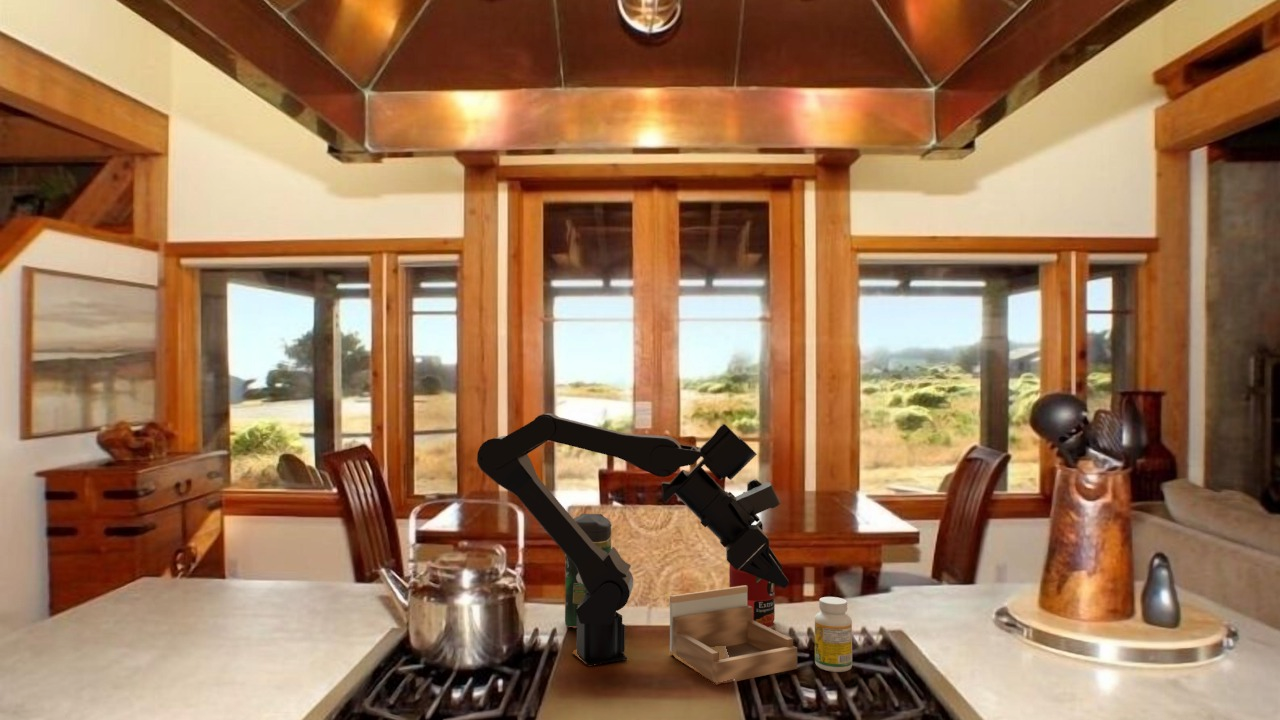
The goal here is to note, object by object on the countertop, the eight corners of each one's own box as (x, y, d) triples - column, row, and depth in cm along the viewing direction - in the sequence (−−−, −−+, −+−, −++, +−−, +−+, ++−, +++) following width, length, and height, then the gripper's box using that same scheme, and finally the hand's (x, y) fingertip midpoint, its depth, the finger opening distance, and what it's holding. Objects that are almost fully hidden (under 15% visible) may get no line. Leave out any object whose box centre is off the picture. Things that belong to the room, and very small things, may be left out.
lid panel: (671, 656, 115) (671, 596, 115) (669, 655, 116) (669, 595, 116) (747, 642, 122) (747, 586, 122) (745, 641, 122) (745, 585, 122)
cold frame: (716, 685, 104) (716, 641, 104) (673, 657, 115) (673, 617, 115) (797, 668, 110) (797, 626, 111) (749, 643, 121) (749, 605, 121)
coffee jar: (569, 614, 136) (570, 510, 137) (613, 615, 136) (614, 511, 136) (560, 631, 127) (561, 519, 127) (607, 633, 126) (608, 520, 127)
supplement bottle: (850, 675, 108) (849, 607, 109) (812, 669, 110) (811, 603, 111) (854, 662, 113) (853, 597, 114) (817, 657, 115) (817, 593, 116)
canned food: (761, 632, 127) (761, 566, 127) (720, 623, 132) (721, 559, 132) (782, 621, 133) (782, 558, 133) (742, 612, 138) (742, 551, 138)
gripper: (751, 470, 104) (833, 553, 103) (743, 458, 123) (813, 527, 122) (693, 527, 105) (774, 610, 104) (695, 506, 123) (764, 576, 122)
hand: (783, 577), depth 113 cm, fingers open, 9 cm apart
